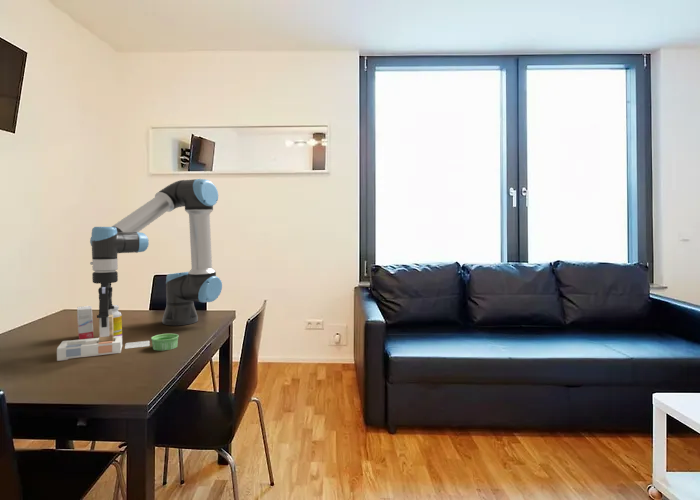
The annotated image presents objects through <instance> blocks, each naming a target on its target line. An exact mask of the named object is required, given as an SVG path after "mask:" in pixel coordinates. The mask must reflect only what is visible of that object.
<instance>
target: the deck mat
mask: <svg viewBox="0 0 700 500" xmlns="http://www.w3.org/2000/svg"><path fill="white" fill-rule="evenodd" d="M150 343H151V341H150V340H143V341H142V340H141V341H135V342H134V341H132V342H126V343H125V344H124V345H125V346H124V349H126V350H127V349H133V348H144V347H145V348H146V347H150V346H151V344H150Z"/></svg>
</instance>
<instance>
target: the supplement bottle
mask: <svg viewBox="0 0 700 500" xmlns="http://www.w3.org/2000/svg"><path fill="white" fill-rule="evenodd" d="M112 306H114V309H112V315H113V336H122V337H123V320H122V318H123V317H122V313H121V311H119V309H120V308H119V304H118V305H117V304H112ZM110 310H111V309H110Z"/></svg>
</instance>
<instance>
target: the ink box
mask: <svg viewBox="0 0 700 500" xmlns="http://www.w3.org/2000/svg"><path fill="white" fill-rule="evenodd" d="M76 309H77V311H76V313H77V316H76V317H77V333H78V340H80V339H91V338H94V321H93V309H92V306H91V305H85V306H77V308H76Z"/></svg>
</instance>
